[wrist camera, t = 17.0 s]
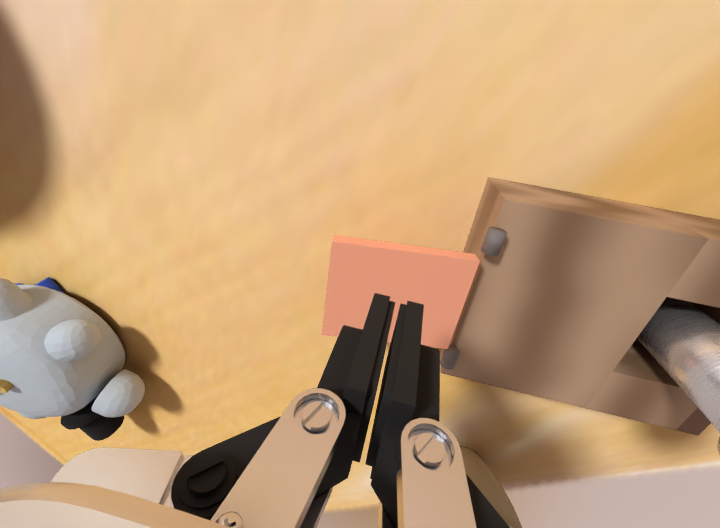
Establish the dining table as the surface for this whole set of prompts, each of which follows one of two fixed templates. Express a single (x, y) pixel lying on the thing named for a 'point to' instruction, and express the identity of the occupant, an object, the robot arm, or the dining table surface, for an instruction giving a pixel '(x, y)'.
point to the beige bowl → (489, 486)
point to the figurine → (62, 361)
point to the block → (581, 299)
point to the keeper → (397, 285)
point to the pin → (688, 352)
